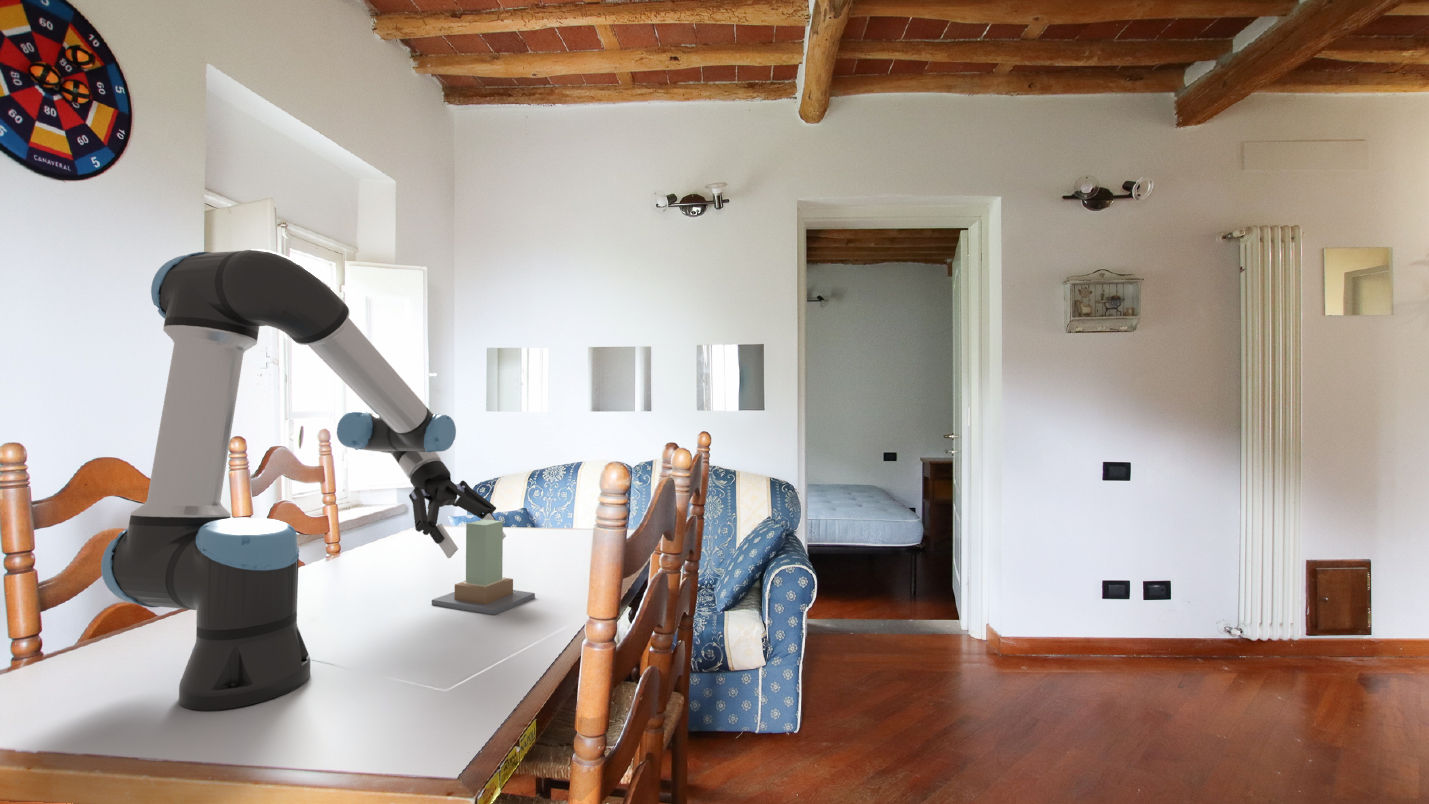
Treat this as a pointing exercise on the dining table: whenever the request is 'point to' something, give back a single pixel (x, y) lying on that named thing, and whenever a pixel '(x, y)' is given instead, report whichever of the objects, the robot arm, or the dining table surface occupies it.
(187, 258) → the robot arm
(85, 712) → the dining table surface
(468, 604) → the build base
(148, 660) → the dining table surface
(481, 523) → the sage block
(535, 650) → the dining table surface
